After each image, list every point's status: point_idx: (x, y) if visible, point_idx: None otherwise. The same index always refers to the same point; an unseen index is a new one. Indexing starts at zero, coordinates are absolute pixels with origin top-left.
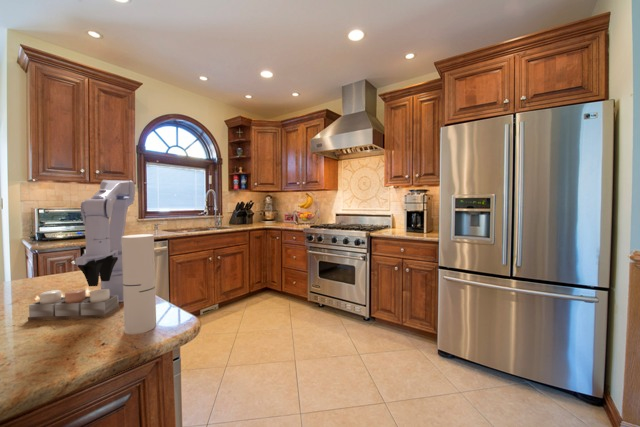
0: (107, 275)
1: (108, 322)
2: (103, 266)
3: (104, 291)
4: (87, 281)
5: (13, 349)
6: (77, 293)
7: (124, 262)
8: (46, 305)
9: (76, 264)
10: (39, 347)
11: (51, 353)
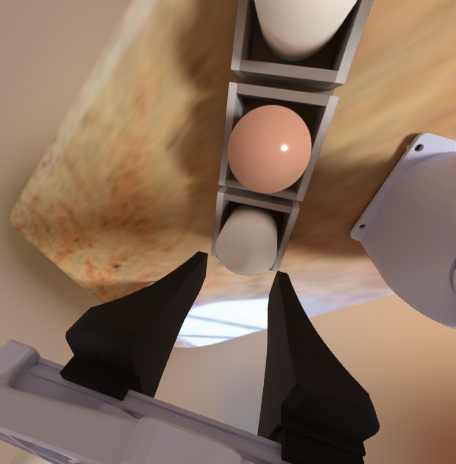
0: (270, 314)
1: (195, 248)
2: (275, 354)
3: (237, 266)
4: (184, 263)
5: (77, 124)
6: (237, 178)
7: (10, 459)
8: (236, 31)
9: (8, 346)
10: (93, 175)
11: (82, 209)
